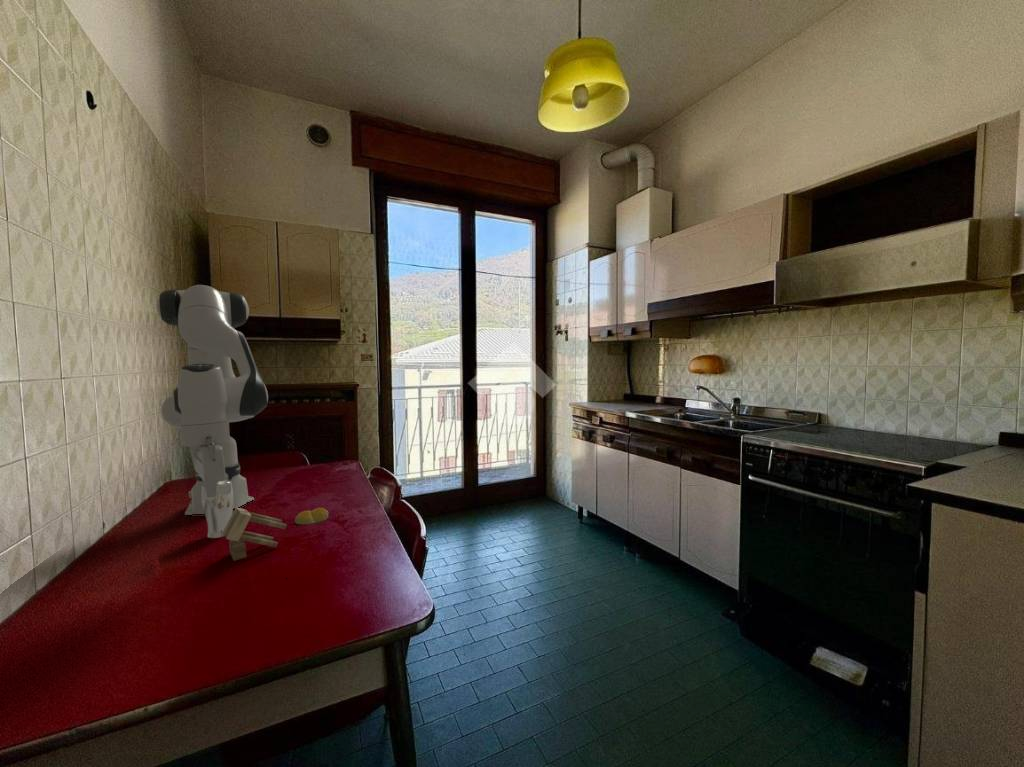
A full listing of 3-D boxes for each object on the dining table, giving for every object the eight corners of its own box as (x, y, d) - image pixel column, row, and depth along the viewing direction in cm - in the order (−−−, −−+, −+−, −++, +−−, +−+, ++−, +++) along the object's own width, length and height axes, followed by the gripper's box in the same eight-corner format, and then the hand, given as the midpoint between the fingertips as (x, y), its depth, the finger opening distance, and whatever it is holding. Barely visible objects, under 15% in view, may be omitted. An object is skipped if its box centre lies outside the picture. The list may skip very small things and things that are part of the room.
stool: (269, 541, 105) (222, 532, 98) (281, 518, 107) (235, 507, 100) (275, 548, 100) (226, 539, 94) (287, 524, 102) (240, 513, 95)
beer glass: (242, 532, 115) (238, 478, 114) (222, 542, 108) (218, 486, 107) (219, 532, 116) (215, 479, 115) (198, 542, 109) (193, 486, 108)
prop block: (230, 554, 99) (229, 541, 98) (242, 550, 100) (241, 537, 100) (233, 561, 95) (232, 547, 95) (246, 557, 97) (245, 543, 97)
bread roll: (295, 521, 122) (295, 508, 122) (329, 515, 126) (328, 502, 125) (294, 531, 114) (293, 517, 114) (329, 525, 118) (328, 511, 118)
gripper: (230, 437, 88) (235, 501, 88) (216, 430, 103) (220, 484, 103) (193, 442, 84) (199, 509, 84) (184, 433, 99) (188, 490, 99)
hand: (211, 495), depth 94 cm, fingers closed
